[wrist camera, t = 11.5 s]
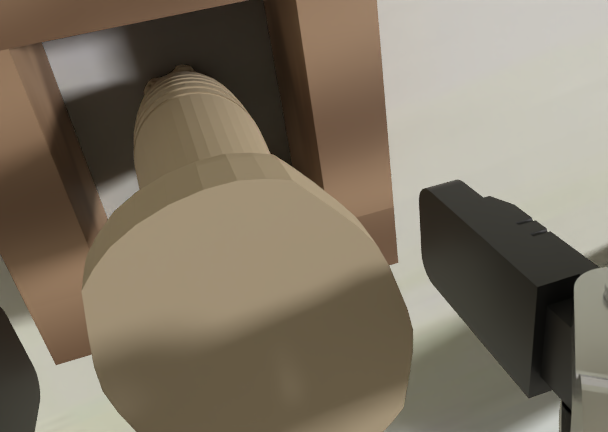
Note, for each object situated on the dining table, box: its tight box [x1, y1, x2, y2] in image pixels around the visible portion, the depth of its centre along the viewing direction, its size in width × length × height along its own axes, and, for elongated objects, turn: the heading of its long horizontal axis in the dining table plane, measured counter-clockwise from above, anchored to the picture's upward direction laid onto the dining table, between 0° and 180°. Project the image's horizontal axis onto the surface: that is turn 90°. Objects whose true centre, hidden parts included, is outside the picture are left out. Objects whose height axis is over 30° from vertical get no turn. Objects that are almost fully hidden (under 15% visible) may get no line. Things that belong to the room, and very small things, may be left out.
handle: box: [82, 65, 413, 432], centre depth 16 cm, size 5×6×15 cm
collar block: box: [0, 0, 398, 365], centre depth 20 cm, size 13×13×5 cm
